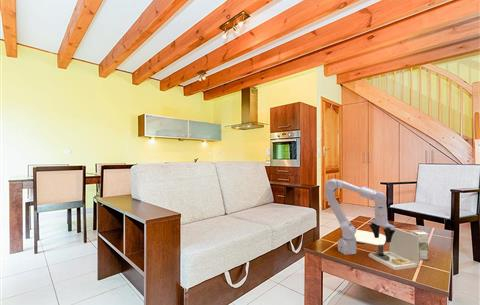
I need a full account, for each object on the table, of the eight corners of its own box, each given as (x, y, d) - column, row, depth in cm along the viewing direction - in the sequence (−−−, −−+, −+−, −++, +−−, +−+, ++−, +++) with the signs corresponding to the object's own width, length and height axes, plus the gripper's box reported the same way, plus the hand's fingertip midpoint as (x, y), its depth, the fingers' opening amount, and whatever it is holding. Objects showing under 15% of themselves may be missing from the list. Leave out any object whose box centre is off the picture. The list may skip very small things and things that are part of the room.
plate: (383, 249, 139) (383, 245, 139) (340, 240, 154) (340, 237, 154) (387, 237, 159) (387, 234, 159) (349, 231, 174) (349, 228, 174)
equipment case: (394, 272, 111) (394, 238, 111) (368, 258, 126) (368, 228, 127) (419, 268, 114) (418, 235, 115) (391, 255, 130) (390, 226, 130)
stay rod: (380, 259, 122) (380, 246, 122) (377, 258, 124) (376, 245, 124) (384, 259, 122) (384, 246, 123) (380, 257, 125) (380, 244, 125)
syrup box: (420, 255, 130) (419, 229, 130) (429, 260, 124) (428, 233, 124) (410, 255, 130) (409, 230, 130) (418, 260, 124) (418, 233, 124)
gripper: (399, 216, 118) (400, 243, 117) (376, 211, 132) (377, 235, 132) (387, 218, 116) (389, 245, 116) (366, 212, 131) (367, 236, 130)
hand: (382, 239), depth 124 cm, fingers open, 7 cm apart
